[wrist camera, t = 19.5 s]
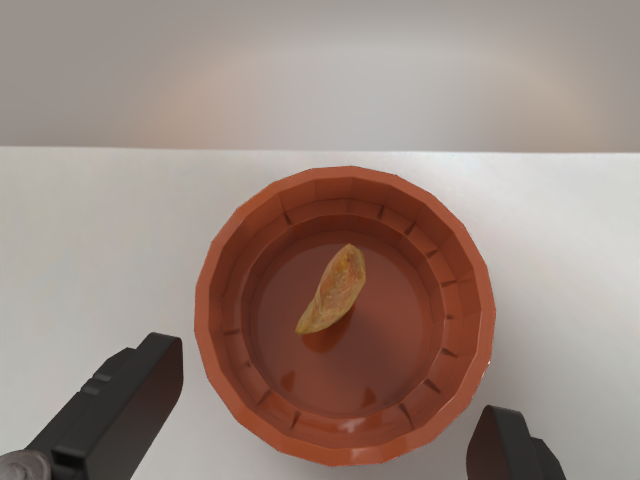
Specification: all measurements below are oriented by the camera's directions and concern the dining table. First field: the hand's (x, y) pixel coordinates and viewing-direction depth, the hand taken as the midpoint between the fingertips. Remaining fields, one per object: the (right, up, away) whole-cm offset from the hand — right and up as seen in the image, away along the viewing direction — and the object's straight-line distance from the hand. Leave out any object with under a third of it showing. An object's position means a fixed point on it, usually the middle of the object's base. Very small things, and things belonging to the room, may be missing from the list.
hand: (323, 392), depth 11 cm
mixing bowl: (+1, -2, +19) cm, 19 cm away
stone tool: (+1, -2, +18) cm, 18 cm away
